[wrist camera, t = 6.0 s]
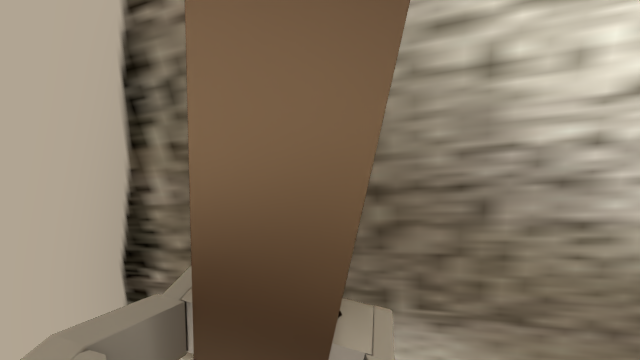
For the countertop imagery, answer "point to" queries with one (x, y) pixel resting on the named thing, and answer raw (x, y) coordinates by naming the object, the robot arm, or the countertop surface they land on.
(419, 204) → the countertop surface
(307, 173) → the turner
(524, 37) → the countertop surface
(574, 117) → the countertop surface
